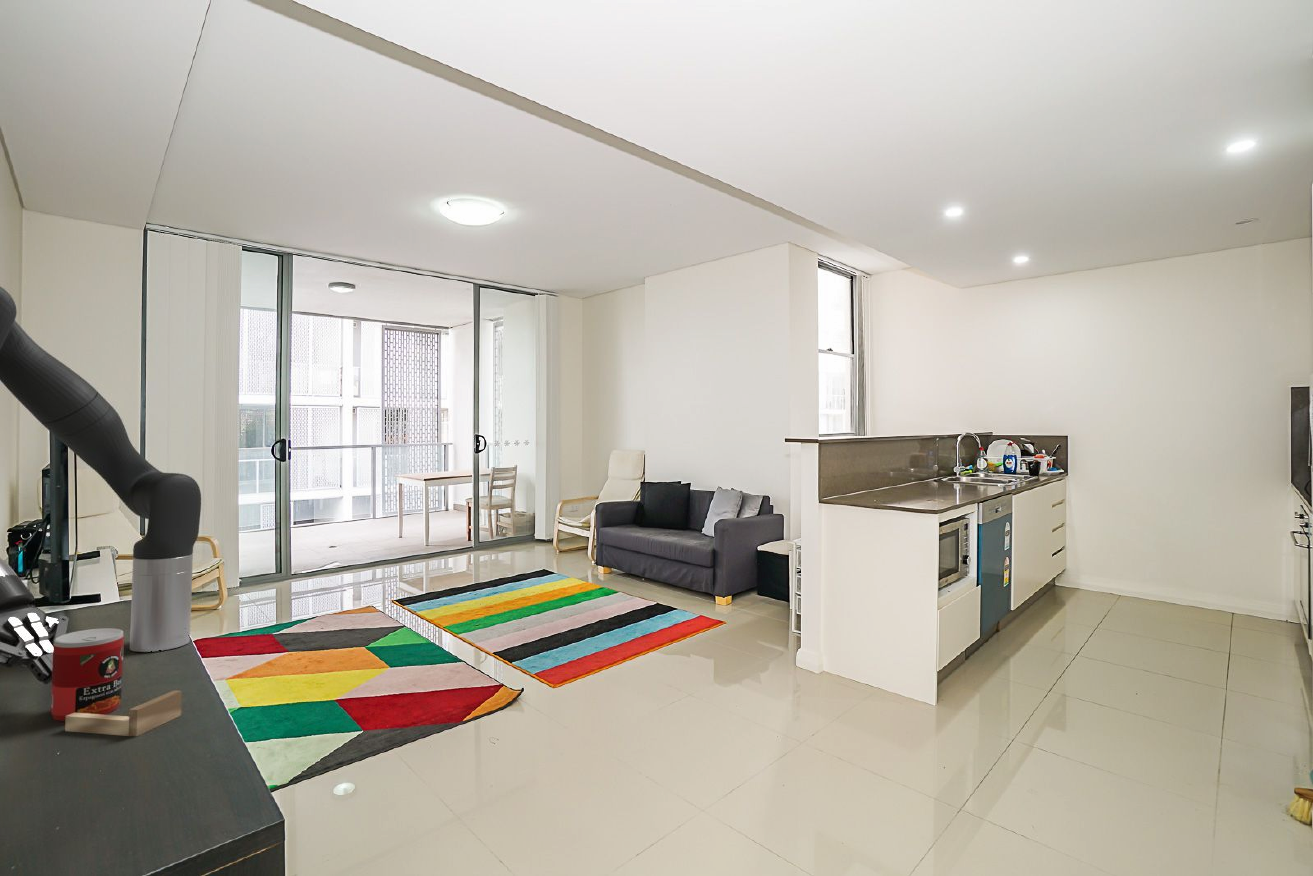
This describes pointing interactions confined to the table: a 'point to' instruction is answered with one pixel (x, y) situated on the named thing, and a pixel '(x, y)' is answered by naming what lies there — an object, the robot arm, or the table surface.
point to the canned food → (87, 672)
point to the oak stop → (129, 718)
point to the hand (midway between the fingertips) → (55, 678)
